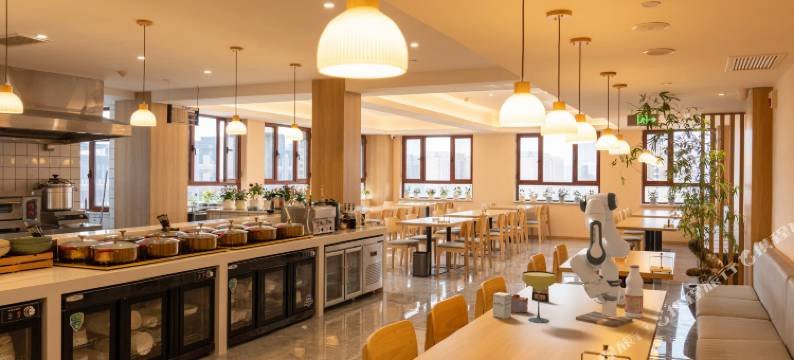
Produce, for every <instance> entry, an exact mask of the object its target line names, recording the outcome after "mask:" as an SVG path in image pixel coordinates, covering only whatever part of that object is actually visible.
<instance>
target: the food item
mask: <svg viewBox="0 0 794 360" xmlns="http://www.w3.org/2000/svg"><path fill="white" fill-rule="evenodd" d="M528 302H529V297H524V296H523V297H522V296H521V294H517V293H514V294H513V295H511V313H518V314H519V313H520V314H521V313H522V314H524V313H526V312H528V308H529V307H528Z"/></svg>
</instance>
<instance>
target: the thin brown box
mask: <svg viewBox="0 0 794 360" xmlns="http://www.w3.org/2000/svg"><path fill="white" fill-rule="evenodd" d="M531 288H532V289H531V290H532V291H531V301H536V302H538V292H537V291H536V290H535V289H534V288H533V287H531ZM549 290H550V289H549V287H546V288H544V289H543V290H542V291H541V292H540V295H539V302H542V303H543V302H544V303H549V302H550V293H549Z"/></svg>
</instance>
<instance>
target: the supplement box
mask: <svg viewBox="0 0 794 360" xmlns="http://www.w3.org/2000/svg"><path fill="white" fill-rule="evenodd" d="M492 296H493V297H492V298H493V300H492V317H495V318H498V319H503V320H504V319H507V318H508V319H509V318H511V316H512V312H511V296H512V293H508V292H501V291H498V292H496V293H495V292H494V293H493V295H492Z"/></svg>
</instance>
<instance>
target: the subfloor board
mask: <svg viewBox="0 0 794 360" xmlns="http://www.w3.org/2000/svg"><path fill="white" fill-rule="evenodd" d="M575 320H576V321H581V322H585V323H591V324H595V325H601V326H604V327H605V326H606V327H610V328H617V327H621V326H623V325H626V324H627V323H628V324H629V323H632V322H633V318H632V317H627V316H620V315H617V314H616V316H614V317H611V316H606V315H602V311H596V310H595V311H591V312H587V313H585V314H580V315H577V316H575Z"/></svg>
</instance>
